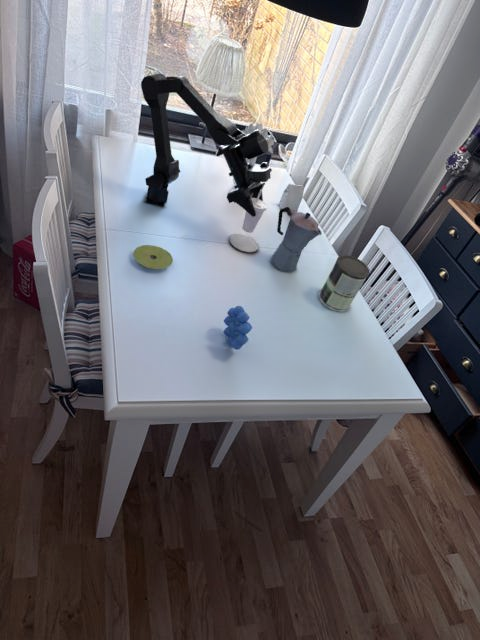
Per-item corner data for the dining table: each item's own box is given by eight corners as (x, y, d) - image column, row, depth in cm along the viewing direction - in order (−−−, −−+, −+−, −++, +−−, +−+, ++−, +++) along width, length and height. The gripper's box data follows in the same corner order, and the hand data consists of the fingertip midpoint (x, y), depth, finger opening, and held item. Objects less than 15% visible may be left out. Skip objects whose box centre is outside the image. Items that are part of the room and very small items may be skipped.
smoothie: (251, 223, 158) (265, 185, 149) (260, 235, 154) (275, 197, 145) (235, 223, 154) (248, 184, 145) (243, 235, 151) (257, 196, 142)
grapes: (252, 360, 120) (267, 327, 112) (227, 361, 117) (241, 327, 109) (238, 327, 127) (252, 294, 120) (215, 327, 125) (227, 293, 117)
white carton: (296, 211, 188) (306, 188, 182) (281, 209, 185) (290, 186, 179) (293, 206, 190) (302, 183, 184) (278, 204, 188) (287, 181, 181)
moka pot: (295, 281, 152) (320, 228, 139) (255, 256, 155) (276, 203, 142) (307, 270, 159) (332, 218, 146) (269, 247, 162) (290, 194, 149)
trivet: (224, 243, 155) (224, 242, 155) (236, 231, 163) (236, 230, 163) (251, 257, 154) (252, 255, 154) (262, 244, 162) (262, 243, 162)
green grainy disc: (140, 245, 141) (141, 240, 140) (176, 258, 142) (177, 253, 141) (126, 265, 133) (127, 259, 132) (164, 279, 133) (165, 273, 132)
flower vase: (253, 180, 197) (273, 121, 181) (260, 203, 184) (282, 141, 168) (222, 174, 193) (240, 112, 177) (228, 197, 180) (247, 132, 164)
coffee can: (312, 295, 148) (330, 259, 139) (330, 286, 155) (349, 251, 146) (337, 316, 144) (357, 280, 135) (355, 306, 151) (376, 271, 142)
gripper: (248, 164, 132) (270, 215, 138) (271, 147, 147) (290, 195, 152) (216, 177, 138) (238, 226, 144) (241, 160, 153) (260, 205, 158)
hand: (258, 212), depth 149 cm, fingers closed on smoothie, 6 cm apart
